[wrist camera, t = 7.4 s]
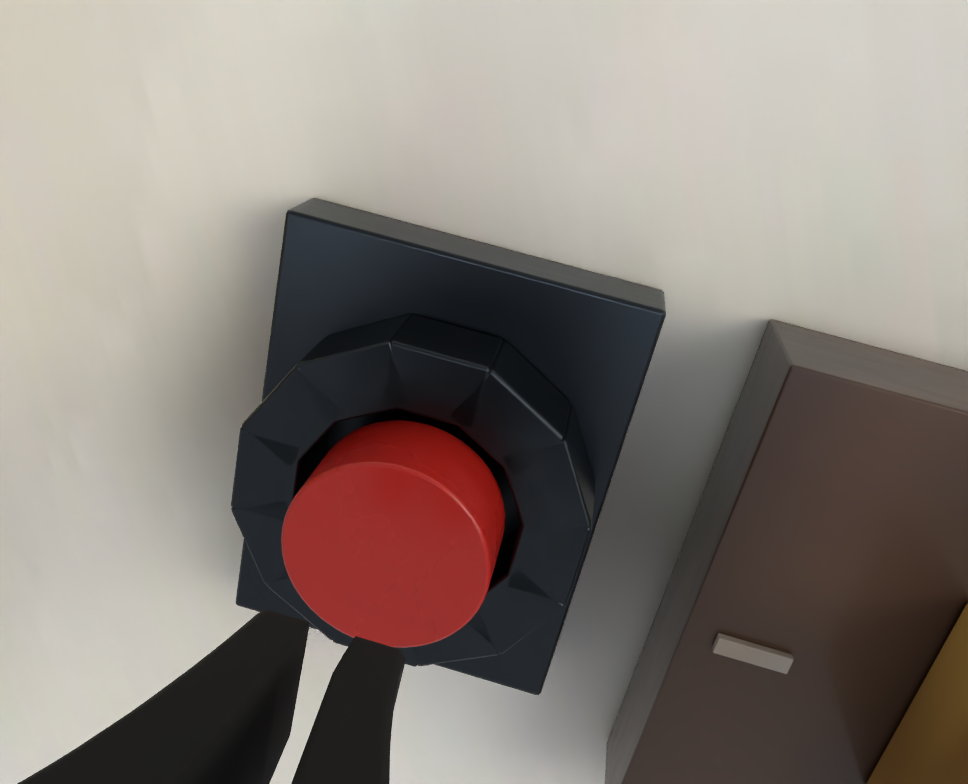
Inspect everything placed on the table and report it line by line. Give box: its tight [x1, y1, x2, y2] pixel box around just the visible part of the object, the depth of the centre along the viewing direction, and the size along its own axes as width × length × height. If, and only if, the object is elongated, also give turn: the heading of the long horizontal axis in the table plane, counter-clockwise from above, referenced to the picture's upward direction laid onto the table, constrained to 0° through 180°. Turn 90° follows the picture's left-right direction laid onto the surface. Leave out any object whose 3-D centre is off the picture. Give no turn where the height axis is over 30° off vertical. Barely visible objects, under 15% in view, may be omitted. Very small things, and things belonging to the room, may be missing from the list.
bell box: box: [231, 198, 666, 695], centre depth 17 cm, size 9×7×3 cm
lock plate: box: [605, 320, 968, 784], centre depth 17 cm, size 10×11×3 cm
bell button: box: [281, 420, 505, 648], centre depth 15 cm, size 4×4×2 cm
